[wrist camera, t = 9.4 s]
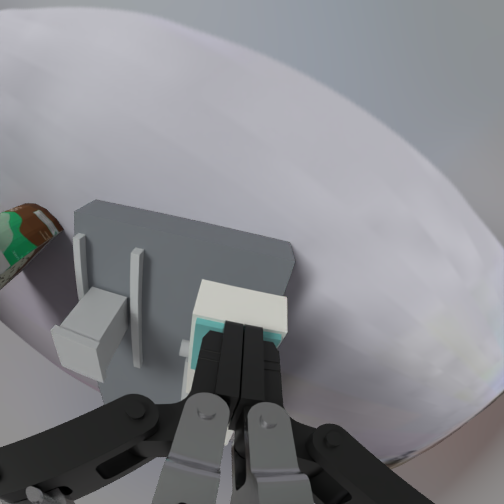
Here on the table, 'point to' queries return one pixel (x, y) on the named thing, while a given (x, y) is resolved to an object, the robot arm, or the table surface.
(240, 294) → the rocker
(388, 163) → the table surface
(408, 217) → the table surface
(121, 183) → the table surface
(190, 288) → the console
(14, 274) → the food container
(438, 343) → the table surface
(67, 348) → the grey slider
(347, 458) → the robot arm
